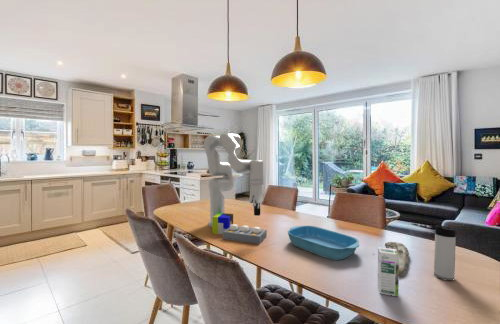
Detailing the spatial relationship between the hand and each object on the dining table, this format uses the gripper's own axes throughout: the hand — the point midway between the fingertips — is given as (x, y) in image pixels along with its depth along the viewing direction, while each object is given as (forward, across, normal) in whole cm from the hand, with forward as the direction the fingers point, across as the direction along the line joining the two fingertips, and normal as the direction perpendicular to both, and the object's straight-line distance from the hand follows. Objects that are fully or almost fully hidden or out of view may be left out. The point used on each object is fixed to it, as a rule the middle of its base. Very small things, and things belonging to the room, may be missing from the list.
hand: (257, 215), depth 136 cm
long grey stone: (+16, +2, +67) cm, 69 cm away
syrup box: (+16, +32, +59) cm, 69 cm away
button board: (+14, 0, -8) cm, 16 cm away
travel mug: (+16, +13, +81) cm, 84 cm away
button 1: (+10, 0, -15) cm, 18 cm away
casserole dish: (+15, 0, +34) cm, 37 cm away
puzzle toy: (+13, -6, -25) cm, 29 cm away
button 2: (+11, 0, -1) cm, 11 cm away
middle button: (+11, 0, -8) cm, 13 cm away
